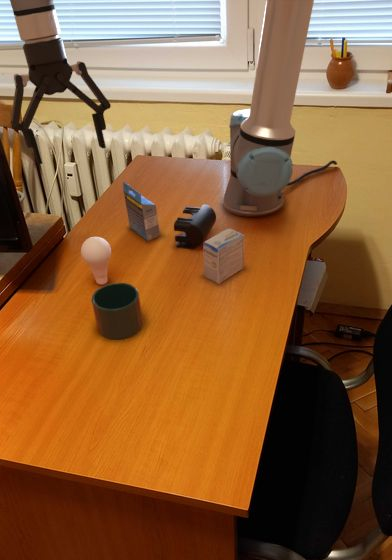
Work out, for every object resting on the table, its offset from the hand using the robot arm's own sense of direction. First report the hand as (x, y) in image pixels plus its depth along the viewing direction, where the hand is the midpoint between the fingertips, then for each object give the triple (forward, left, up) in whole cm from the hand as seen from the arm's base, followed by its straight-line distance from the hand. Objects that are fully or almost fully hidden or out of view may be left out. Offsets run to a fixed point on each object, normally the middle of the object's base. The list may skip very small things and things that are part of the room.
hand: (71, 154), depth 115 cm
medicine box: (-24, +24, -22) cm, 41 cm away
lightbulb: (+1, +16, -22) cm, 28 cm away
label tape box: (-14, -1, -22) cm, 26 cm away
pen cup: (+2, +31, -22) cm, 39 cm away
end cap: (-24, +8, -22) cm, 34 cm away
